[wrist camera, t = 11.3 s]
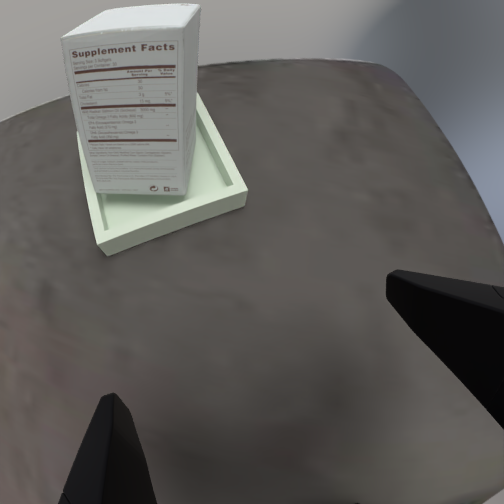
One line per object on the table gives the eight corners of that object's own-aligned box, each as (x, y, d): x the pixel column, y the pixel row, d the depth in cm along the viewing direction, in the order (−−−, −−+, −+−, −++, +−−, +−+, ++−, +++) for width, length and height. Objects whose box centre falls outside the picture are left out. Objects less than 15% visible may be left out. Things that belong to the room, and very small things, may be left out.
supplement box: (118, 140, 26) (105, 8, 16) (197, 141, 27) (204, 2, 16) (92, 196, 22) (56, 36, 11) (186, 199, 22) (187, 22, 12)
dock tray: (244, 206, 26) (247, 190, 23) (107, 256, 23) (97, 244, 20) (197, 110, 29) (197, 92, 26) (84, 148, 26) (76, 132, 24)
